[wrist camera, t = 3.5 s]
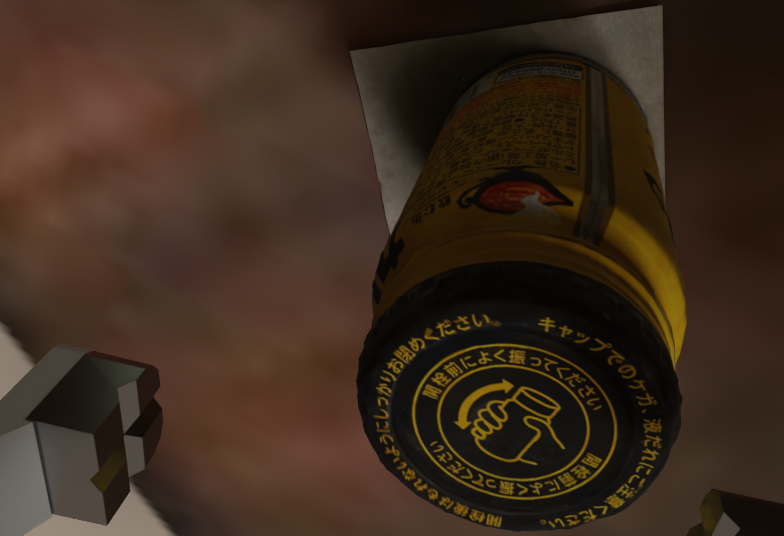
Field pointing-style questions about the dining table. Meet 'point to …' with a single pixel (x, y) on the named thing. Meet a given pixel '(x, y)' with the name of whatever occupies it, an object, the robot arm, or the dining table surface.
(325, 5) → the dining table surface
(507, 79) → the condiment
